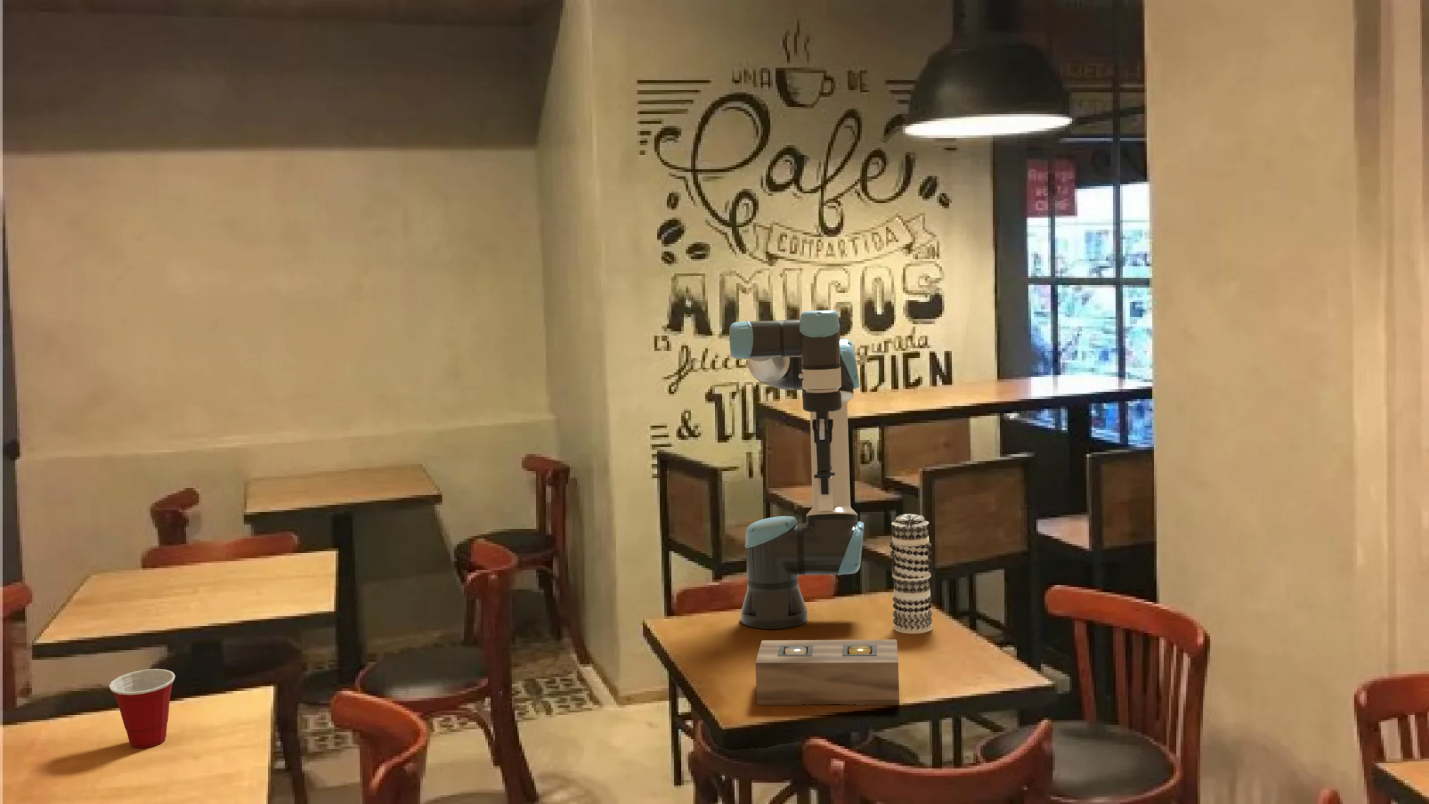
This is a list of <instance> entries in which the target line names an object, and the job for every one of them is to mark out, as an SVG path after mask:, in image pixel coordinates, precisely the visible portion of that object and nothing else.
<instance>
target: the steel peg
mask: <svg viewBox="0 0 1429 804" xmlns="http://www.w3.org/2000/svg"><path fill="white" fill-rule="evenodd" d="M785 654H806V648H805V647H802V646H791V647H787V648H785Z"/></svg>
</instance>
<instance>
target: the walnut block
mask: <svg viewBox="0 0 1429 804" xmlns="http://www.w3.org/2000/svg"><path fill="white" fill-rule="evenodd" d="M791 646H802V647H805V648H806V654H785V648H787V647H791ZM853 646H867V647H869V648H870V653H871V654H849V648H850V647H853ZM898 653H899V652H898V640H897V639H815V640H814V639H806V640H805V639H800V640H797V639H794V640H793V639H787V640H785V639H784V640H783V639H782V640H781V639H780V640H776V639H775V640H774V639H773V640H770V639H769V640H768V639H766V640H761V642H760V646H759V648H758V653H757V656H756V658H755V659H756V660H755V665H754V666H755V683H756V684H755V685H756V686H755V687H756V705H757V706H804V705H803V704H806V705H805V706H810V705H809V704H856V705H855V706H900V684H899V683H900V680H899V679H900V678H899V677H900V675H899V656H898ZM866 704H867V705H866Z"/></svg>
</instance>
